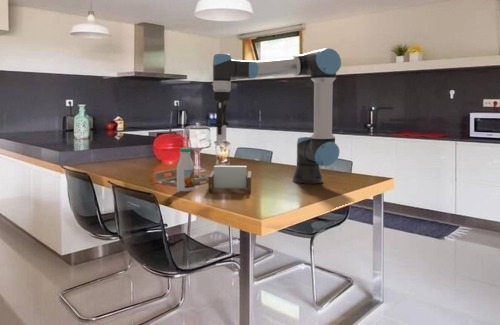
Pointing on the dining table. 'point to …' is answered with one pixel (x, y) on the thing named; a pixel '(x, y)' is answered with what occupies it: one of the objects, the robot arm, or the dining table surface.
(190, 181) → the milk bottle
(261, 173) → the dining table surface
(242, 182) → the sheet
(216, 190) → the rack
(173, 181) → the toy food set
